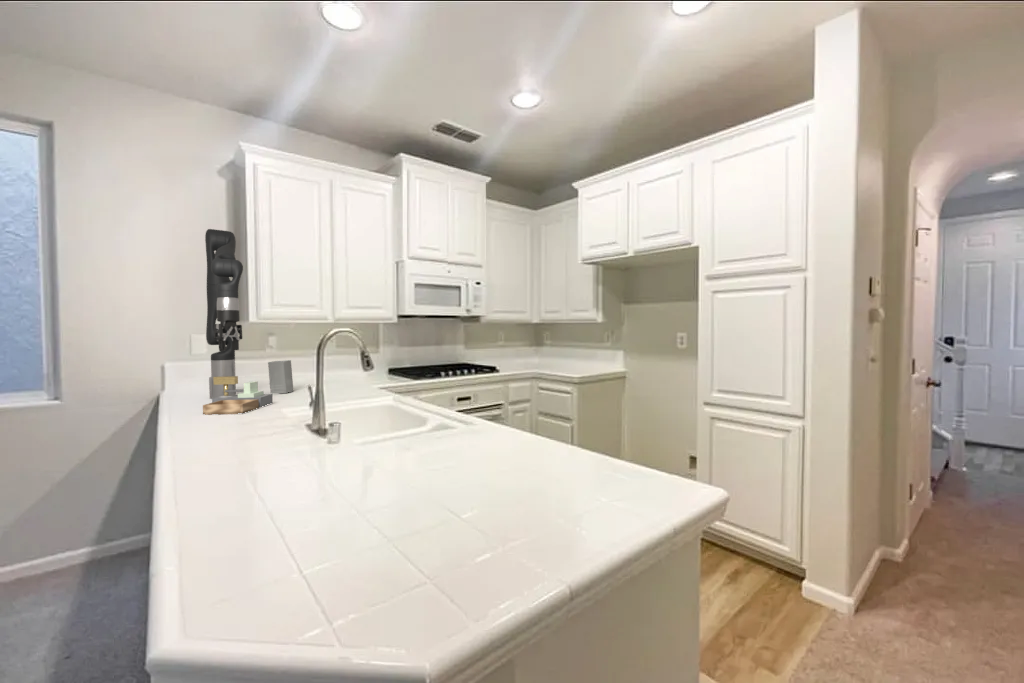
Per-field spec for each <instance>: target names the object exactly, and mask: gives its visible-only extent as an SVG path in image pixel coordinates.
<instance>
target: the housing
mask: <svg viewBox="0 0 1024 683" xmlns="http://www.w3.org/2000/svg"><path fill="white" fill-rule="evenodd" d="M252 399H258V402H259V407H262V406H264V407H266V406H265V405H267V404H270V403H273V402H274V401H273V394H271V393H264V395H260V396H257V397H248V398H238V394H236V395H228V396H220V397H217V398H211V403H213V402H217V401H220V400H252ZM270 405H271V404H270ZM267 406H268V405H267ZM262 408H263V407H262Z"/></svg>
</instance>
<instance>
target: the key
mask: <svg viewBox="0 0 1024 683" xmlns="http://www.w3.org/2000/svg"><path fill="white" fill-rule="evenodd" d="M213 382H214V385H222V384H224V396H228V395H229V392H236V393H243V392H244V388H241V389H238V388H236V389H231V390H228V384H236V385H237V384H239V376H238V375H235V376H217V377H213Z"/></svg>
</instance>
